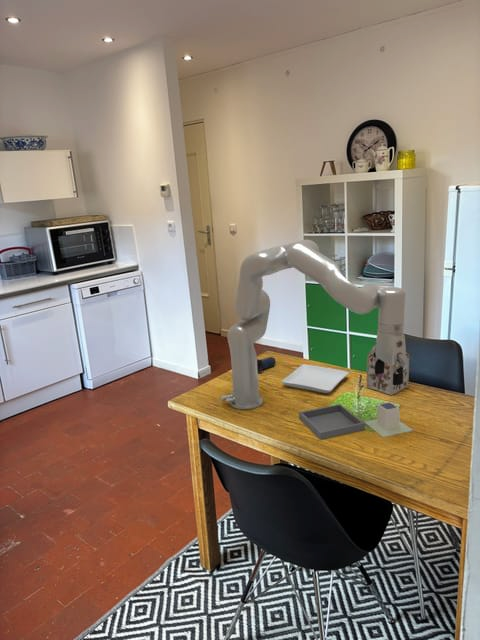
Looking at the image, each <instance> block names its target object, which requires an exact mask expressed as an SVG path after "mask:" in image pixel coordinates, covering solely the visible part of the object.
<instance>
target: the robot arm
mask: <svg viewBox="0 0 480 640" xmlns="http://www.w3.org/2000/svg"><path fill="white" fill-rule="evenodd" d="M292 268H294V269H295V270H297V271H298V272H300V273H301V274H304V275H305V276H307V277H308V278H310V279H312V281H314V282H315V283H317V284H319V285H320V286H322V288H323V289H324V290H325V292H326V293H328V295H329V296H330V297H331V298H332V299H333V300H334V301H335V302H337V303H338V304H339V305H341V306H343V307H344V308H345V309H346V310H347V309H348V310H349V311H350V312H353V313H355V314H357V315H366V314H369V313H371V312H372V310H373V309H378V321H377V322H378V323H377V324H378V325H377V327H378V328H377V334H376V340H375V345H373V346H372V348H371V350H372V349H373V352H374V353H373V355H374V358H375V359H374V361H375V362H376V363H375V374H382V373H384V364H385V363H387V364H389V365H391V366H392V367H393V369H394V372H395V373H393V385H394V386H395V385H400V384H402V383H403V373H404V372H405V370H406V368H407V366H408V362H407V361H406V352H407V351H406V350H407V348H406V347H407V345H406V337H405V333H404V325H405V324H404V323H405V307H406V306H405V305H406V291H405V290H404V289H403V288H401V287H395V286H389V287H386V286H381V285H376V284H371V283H370V284H364V285H363V286H361V287H359V286H357V285H355V284H353V283H352V282H351V281H349V280H347V278H346V277H344V276H343V274H342V273H341V270H340V266H339V264H338V263H337V262H336V261H334V260H332V259H331V258H329V257H328V256H326V255H325V254H323V253H321V252H320V248H319V245H318V244H317V243H316V242H314V241H313V240H311V239H302V240H299V241H295V242H291V243H287V244H283V245H277V246H275V247H270V248H267V249H263V250H260V251H258V252H254V253H252V254H250V255H247V256H246V257H245V258H244V259H243V260H242V263H241V265H240V269H239V276H238V277H239V278H238V285H237V290H236V297H235V302H234V303H235V304H234V312H235V313H234V314H235V315H236V316H237V318H238V319H240V320H239V321H238V322H235V323H234V324H233V325H232V326H230V328H229V330H228V332H227V335H226V336H227V343H228V348H229V353H230V360H231V361H230V363H231V364H230V365H231V375H232V376H231V377H232V390H231V391H230V393H228V394H226V395H221V396H220V399H221V402H224V401H225V402H226V403H229V405H230V406H231V407H233V408H235V409H237V410H252V409H256V408H258V407H261V406H262V405H263V403H264V398H263V396H261V395H260V394H259V392H260V391H259V375H258V374H259V373H258V370H257V359H258V356H257V352H256V349H255V346H254V344H255V343H256V342H258V341H259V340H260V339H261V338H263V337H264V336H265V334H266V332H267V326H268V322H269V315H270V310H271V309H270V308H271V300H270V296H269V294H268V293H267V292H266V291H265V290H264V289H263V286H264V282H263V277H265V276H269V275H273V274H276V273H278V272H281V271H283V270H287V269H288V270H289V269H292ZM395 362H398V363H395ZM396 366H399V368H398V369H397V367H396Z"/></svg>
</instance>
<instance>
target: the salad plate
mask: <svg viewBox="0 0 480 640" xmlns="http://www.w3.org/2000/svg"><path fill="white" fill-rule="evenodd" d="M349 373H350V372H349V371H347V370H341V369H335V368H329V367H325V366H324V367H323V366H318V365H314V364H313V365H311V364H306V363H303V364H301V365H300V366H299V367H298V368H296V369H295V370H294V371H292V373H290V374H288V375H287V376H286V377H285V378H284V379H282V380H281V383H282V384H283V385H285V386H287V387H291V388H296V389H302V390H306V391H311V392H312V391H313V392H317V393H324V394H328V393H331V392H332V391H333V390H334V389H335V388H336V386H338V384H339V383H340V382H341V381H343V380H344V379H345V378H346V377H347V376H348V375H349Z"/></svg>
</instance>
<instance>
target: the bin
mask: <svg viewBox="0 0 480 640" xmlns="http://www.w3.org/2000/svg"><path fill="white" fill-rule="evenodd" d="M298 419H299V420H300V421H301V422H302V423H303V424H304V426H306V427H307V428H308V429H309V431H311V432H312V433H313V434H314V435H315V436H316V437H317V438H318V439H319V440H320V441H323V440H327V439H331V438H335V437H341V436H344V435H349V434H354V433H359V432H362V431H365V430H366V424H365V423H364V422H365V421H363V420H362V419H360V417H358V416H357V415H355V414H354V413H353V412H351V411H350V410H349V409H348V408H346V406H344V405H343V404H342V403H338V404H333V405H328V406H323V407H317V408H314V409H313V408H312V409H307V410H301V411H299V412H298Z"/></svg>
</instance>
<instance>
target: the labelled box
mask: <svg viewBox="0 0 480 640" xmlns="http://www.w3.org/2000/svg"><path fill="white" fill-rule="evenodd" d="M376 406H377V407H376V419H377V425H379V426H380V427H381V428H383V429H384V430H385V431H387V430H391V429H396V428H399V421H400V409H401V408H400V407H399V406H398V405H396V404H394V403H393V402H391V401H389V402H383V403H378V404H376Z"/></svg>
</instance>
